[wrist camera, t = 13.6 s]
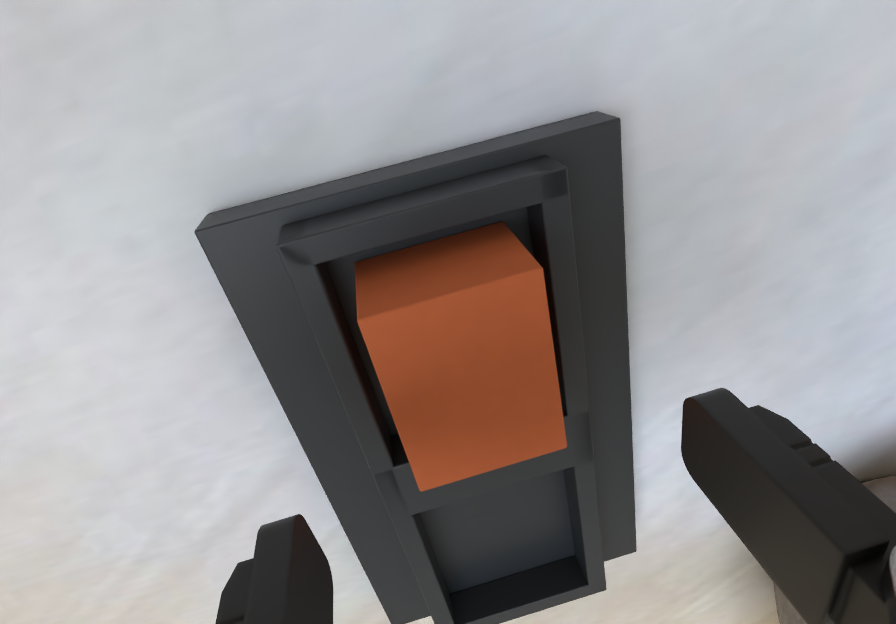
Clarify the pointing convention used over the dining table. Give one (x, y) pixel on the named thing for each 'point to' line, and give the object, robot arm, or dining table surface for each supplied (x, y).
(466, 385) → the orange block
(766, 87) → the dining table surface
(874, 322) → the dining table surface
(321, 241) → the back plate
